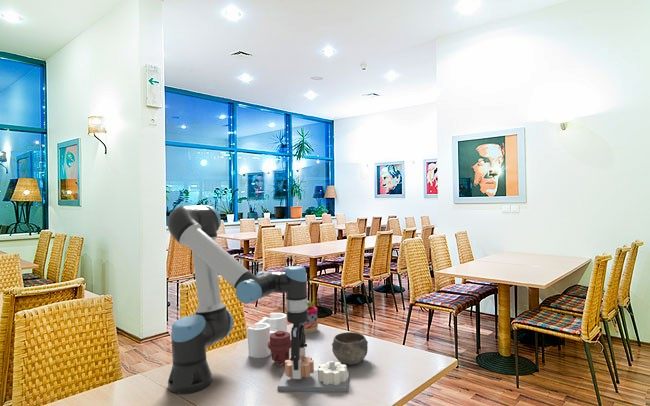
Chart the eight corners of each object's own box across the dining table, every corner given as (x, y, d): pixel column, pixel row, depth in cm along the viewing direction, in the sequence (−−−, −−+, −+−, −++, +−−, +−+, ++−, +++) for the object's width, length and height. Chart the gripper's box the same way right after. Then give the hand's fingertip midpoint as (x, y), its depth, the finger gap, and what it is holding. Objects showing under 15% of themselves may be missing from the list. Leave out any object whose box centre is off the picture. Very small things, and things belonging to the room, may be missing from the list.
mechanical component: (296, 358, 167) (289, 368, 157) (273, 357, 169) (264, 367, 159) (295, 328, 166) (288, 336, 157) (272, 327, 168) (263, 335, 159)
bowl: (329, 368, 156) (328, 342, 156) (337, 353, 171) (336, 329, 171) (365, 370, 152) (364, 344, 152) (370, 355, 167) (369, 331, 167)
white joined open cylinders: (266, 359, 166) (265, 330, 166) (245, 357, 170) (244, 328, 170) (290, 339, 190) (290, 313, 190) (272, 337, 193) (271, 312, 193)
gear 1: (282, 378, 140) (282, 366, 140) (288, 366, 150) (287, 355, 150) (311, 378, 139) (311, 367, 139) (315, 366, 149) (315, 355, 149)
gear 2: (322, 387, 137) (322, 375, 137) (315, 374, 147) (314, 363, 147) (351, 382, 140) (350, 371, 140) (341, 370, 150) (341, 359, 150)
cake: (294, 332, 199) (293, 302, 198) (302, 326, 209) (301, 297, 208) (314, 334, 195) (313, 303, 195) (321, 327, 205) (320, 298, 205)
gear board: (277, 390, 139) (277, 368, 139) (285, 374, 152) (284, 354, 152) (347, 392, 136) (346, 369, 136) (349, 375, 149) (348, 355, 149)
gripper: (302, 319, 133) (304, 386, 133) (312, 301, 155) (314, 359, 155) (280, 319, 133) (282, 386, 134) (292, 301, 156) (294, 358, 156)
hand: (299, 371), depth 145 cm, fingers closed on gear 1, 10 cm apart
